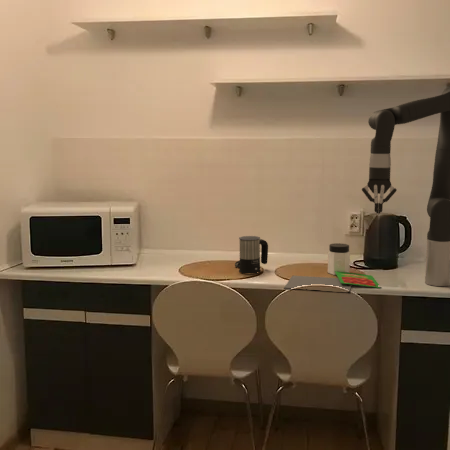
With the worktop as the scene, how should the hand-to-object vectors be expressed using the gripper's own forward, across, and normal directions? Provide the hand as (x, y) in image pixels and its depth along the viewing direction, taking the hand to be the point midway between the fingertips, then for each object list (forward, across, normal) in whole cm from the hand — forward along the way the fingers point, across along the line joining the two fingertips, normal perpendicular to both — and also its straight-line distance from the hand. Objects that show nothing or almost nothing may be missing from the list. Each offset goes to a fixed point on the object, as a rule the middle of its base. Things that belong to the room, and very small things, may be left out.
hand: (378, 213), depth 216 cm
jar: (+29, +15, -21) cm, 39 cm away
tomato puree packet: (+28, +5, +1) cm, 28 cm away
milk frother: (+29, +54, -18) cm, 64 cm away
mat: (+28, +21, 0) cm, 35 cm away
